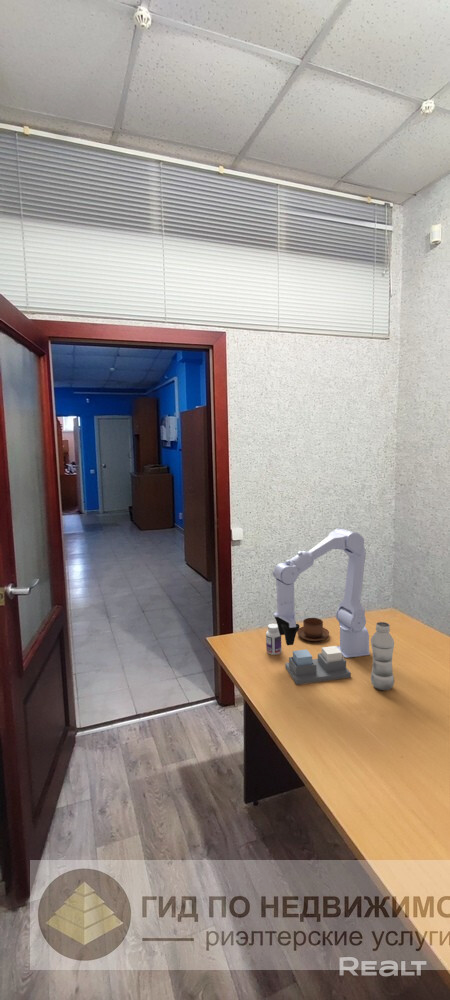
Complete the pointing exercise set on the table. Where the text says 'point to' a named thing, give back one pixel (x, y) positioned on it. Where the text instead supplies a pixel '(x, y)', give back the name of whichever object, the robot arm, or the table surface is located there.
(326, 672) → the key panel
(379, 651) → the plastic bottle
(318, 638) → the cup and saucer
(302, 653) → the blue key
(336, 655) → the white key
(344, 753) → the table surface
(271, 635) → the pill bottle
